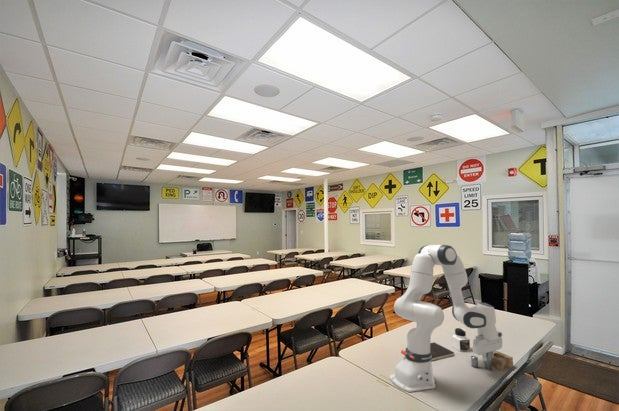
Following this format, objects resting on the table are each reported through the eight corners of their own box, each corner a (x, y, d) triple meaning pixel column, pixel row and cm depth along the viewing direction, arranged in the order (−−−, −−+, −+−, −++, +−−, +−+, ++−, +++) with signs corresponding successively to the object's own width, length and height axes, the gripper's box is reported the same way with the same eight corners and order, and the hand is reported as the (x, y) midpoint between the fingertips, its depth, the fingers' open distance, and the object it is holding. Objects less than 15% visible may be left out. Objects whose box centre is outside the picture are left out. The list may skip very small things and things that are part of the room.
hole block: (501, 370, 147) (501, 361, 147) (483, 362, 156) (483, 353, 156) (513, 366, 151) (512, 357, 151) (494, 358, 160) (494, 349, 160)
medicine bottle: (460, 351, 169) (459, 331, 170) (452, 346, 176) (451, 327, 177) (470, 350, 170) (469, 330, 171) (461, 345, 177) (461, 326, 178)
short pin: (475, 368, 149) (475, 359, 150) (470, 365, 152) (469, 356, 152) (479, 367, 150) (479, 357, 151) (473, 364, 153) (473, 355, 154)
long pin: (489, 371, 146) (488, 352, 147) (483, 368, 149) (482, 349, 150) (493, 370, 148) (492, 350, 148) (487, 367, 151) (486, 348, 151)
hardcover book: (454, 356, 164) (454, 352, 164) (425, 363, 155) (424, 359, 156) (433, 345, 179) (433, 341, 179) (405, 351, 170) (405, 347, 170)
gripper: (480, 338, 143) (481, 366, 142) (504, 332, 151) (505, 358, 150) (468, 334, 148) (469, 360, 147) (492, 328, 157) (493, 353, 156)
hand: (488, 359), depth 149 cm, fingers closed on long pin, 3 cm apart
